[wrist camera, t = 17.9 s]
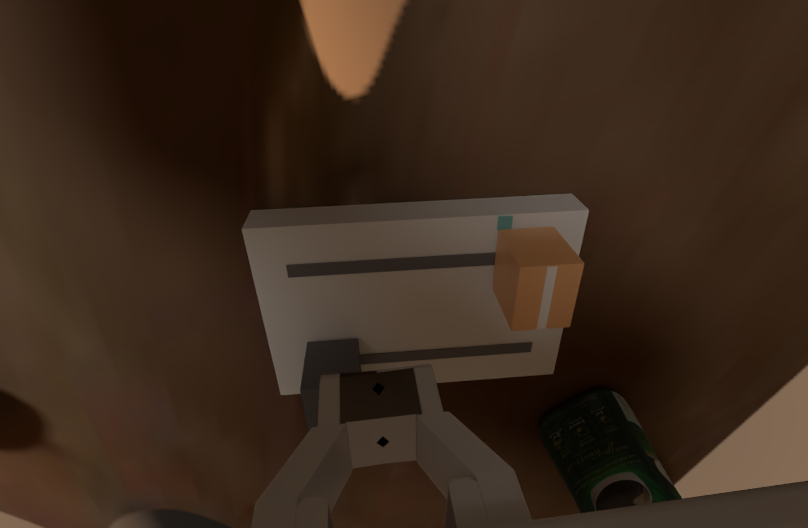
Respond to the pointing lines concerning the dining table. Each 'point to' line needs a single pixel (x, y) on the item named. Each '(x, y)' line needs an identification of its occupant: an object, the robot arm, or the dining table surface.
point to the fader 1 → (325, 370)
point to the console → (401, 284)
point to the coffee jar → (604, 453)
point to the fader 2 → (536, 278)
